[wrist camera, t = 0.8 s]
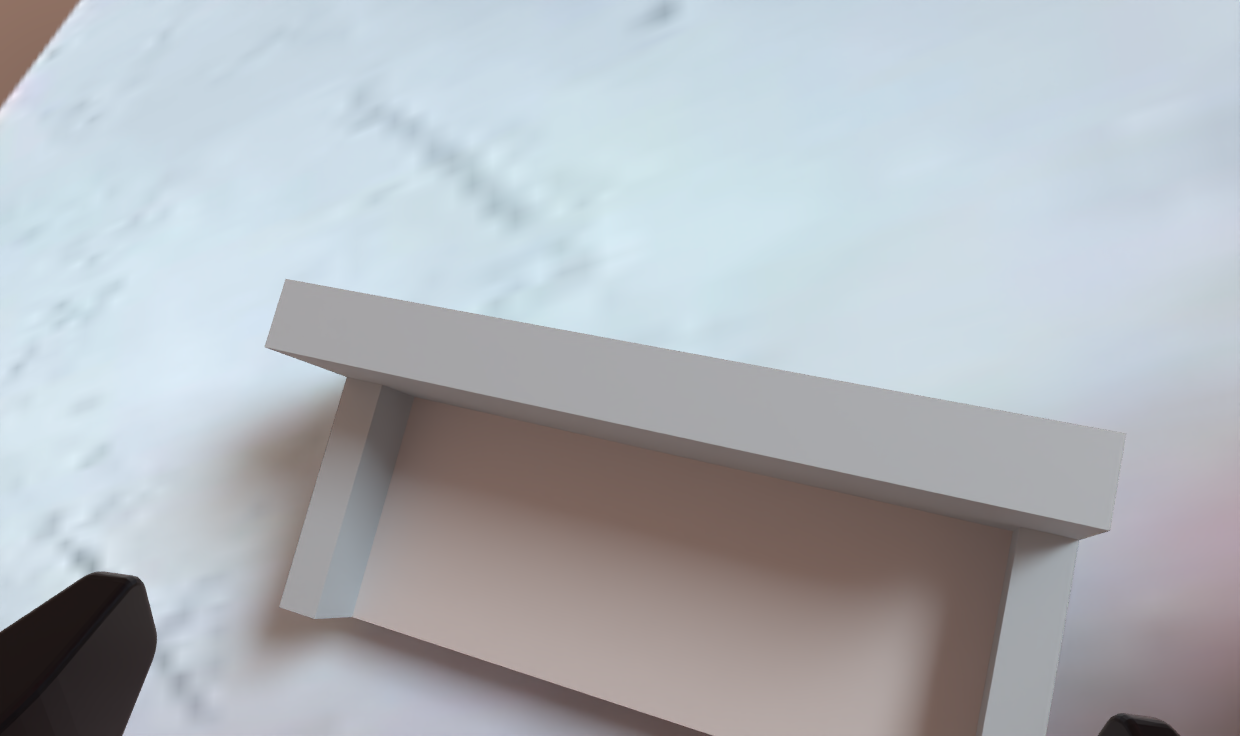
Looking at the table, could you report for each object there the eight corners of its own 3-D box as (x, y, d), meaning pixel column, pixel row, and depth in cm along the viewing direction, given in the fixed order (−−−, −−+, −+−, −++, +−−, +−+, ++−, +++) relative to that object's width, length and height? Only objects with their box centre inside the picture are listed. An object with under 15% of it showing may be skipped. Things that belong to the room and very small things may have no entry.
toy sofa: (1009, 817, 19) (1046, 913, 13) (352, 604, 24) (183, 610, 19) (1069, 476, 20) (1126, 433, 14) (426, 346, 25) (286, 278, 20)
